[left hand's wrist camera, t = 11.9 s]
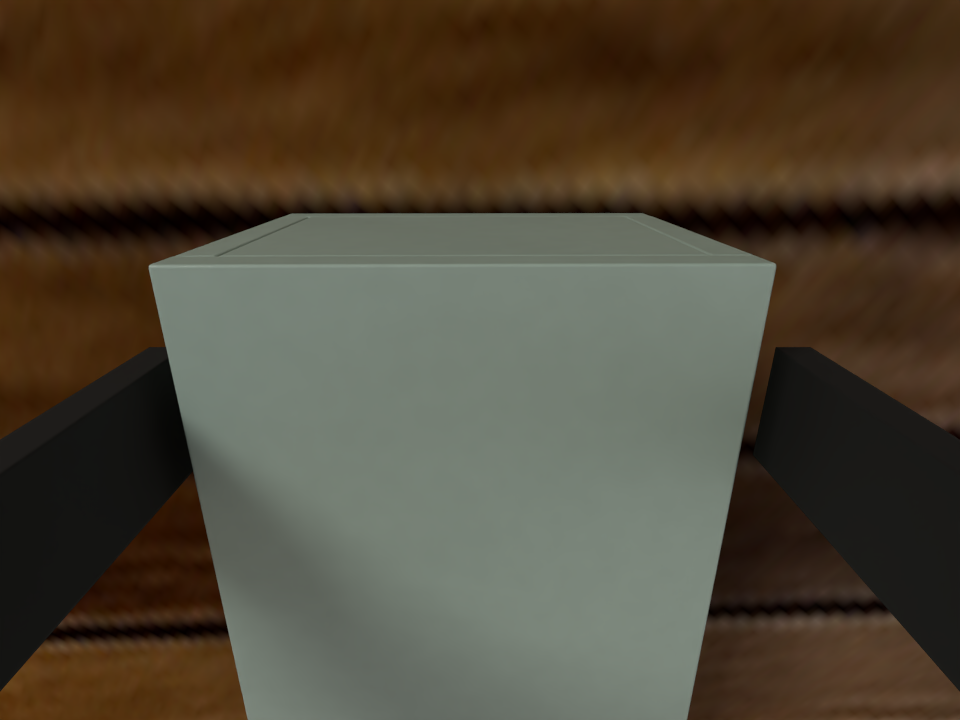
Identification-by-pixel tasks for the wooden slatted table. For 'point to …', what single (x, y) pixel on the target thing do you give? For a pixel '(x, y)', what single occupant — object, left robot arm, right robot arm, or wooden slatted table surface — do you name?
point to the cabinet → (464, 456)
